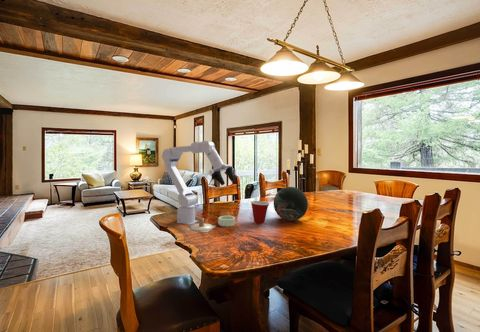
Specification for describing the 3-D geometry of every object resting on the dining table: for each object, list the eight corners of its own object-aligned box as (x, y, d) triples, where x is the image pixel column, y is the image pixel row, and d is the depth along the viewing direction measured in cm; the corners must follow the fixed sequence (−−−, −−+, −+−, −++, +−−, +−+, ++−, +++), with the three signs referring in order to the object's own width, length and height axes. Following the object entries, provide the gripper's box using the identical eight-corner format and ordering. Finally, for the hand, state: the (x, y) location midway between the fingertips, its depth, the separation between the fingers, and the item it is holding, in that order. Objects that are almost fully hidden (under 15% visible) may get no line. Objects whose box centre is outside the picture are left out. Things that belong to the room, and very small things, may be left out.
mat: (185, 230, 135) (185, 229, 135) (196, 224, 146) (196, 223, 146) (207, 233, 131) (207, 232, 131) (216, 226, 143) (216, 225, 143)
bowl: (216, 226, 143) (216, 218, 143) (222, 222, 152) (222, 215, 152) (231, 227, 140) (231, 220, 140) (237, 223, 149) (237, 216, 149)
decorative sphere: (297, 215, 170) (298, 184, 169) (314, 223, 151) (315, 188, 149) (268, 217, 164) (268, 185, 163) (281, 226, 145) (282, 189, 144)
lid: (187, 229, 135) (187, 220, 135) (196, 223, 146) (196, 215, 145) (206, 231, 132) (206, 222, 131) (215, 225, 142) (215, 217, 142)
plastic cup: (271, 224, 148) (272, 203, 147) (253, 225, 145) (253, 204, 145) (265, 219, 158) (265, 199, 158) (248, 220, 156) (248, 200, 155)
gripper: (209, 159, 132) (223, 182, 129) (229, 154, 143) (241, 175, 140) (202, 166, 136) (215, 189, 133) (222, 161, 147) (234, 182, 144)
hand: (228, 182), depth 137 cm, fingers open, 7 cm apart
